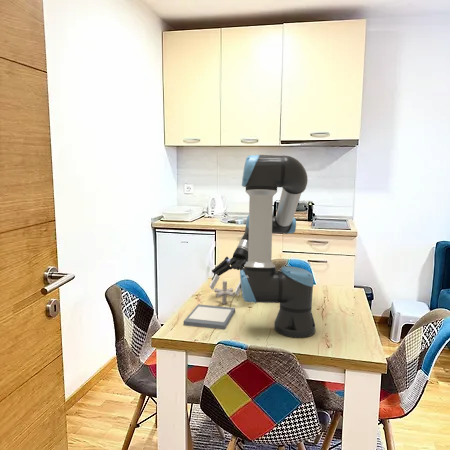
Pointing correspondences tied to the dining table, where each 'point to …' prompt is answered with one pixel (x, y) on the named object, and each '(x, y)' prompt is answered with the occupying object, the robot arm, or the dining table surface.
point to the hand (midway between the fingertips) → (223, 290)
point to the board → (210, 316)
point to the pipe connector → (224, 292)
